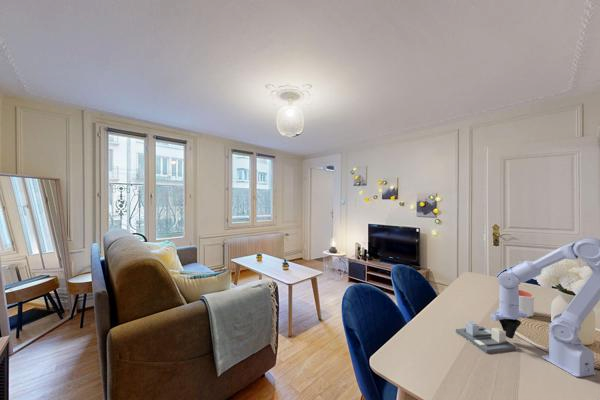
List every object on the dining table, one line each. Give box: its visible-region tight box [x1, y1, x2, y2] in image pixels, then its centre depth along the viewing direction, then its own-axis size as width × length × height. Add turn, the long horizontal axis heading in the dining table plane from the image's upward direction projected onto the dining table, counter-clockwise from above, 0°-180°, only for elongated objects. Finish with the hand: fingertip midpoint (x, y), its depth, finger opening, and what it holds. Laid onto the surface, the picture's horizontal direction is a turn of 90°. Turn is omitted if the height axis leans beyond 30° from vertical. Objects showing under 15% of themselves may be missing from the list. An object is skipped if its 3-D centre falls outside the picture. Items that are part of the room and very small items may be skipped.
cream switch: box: [490, 326, 507, 343], centre depth 89 cm, size 3×3×4 cm
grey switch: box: [465, 321, 480, 336], centre depth 94 cm, size 3×3×4 cm
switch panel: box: [455, 326, 517, 354], centre depth 91 cm, size 14×13×2 cm
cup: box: [519, 289, 535, 318], centre depth 113 cm, size 10×10×10 cm
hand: (508, 336), depth 90 cm, fingers closed
